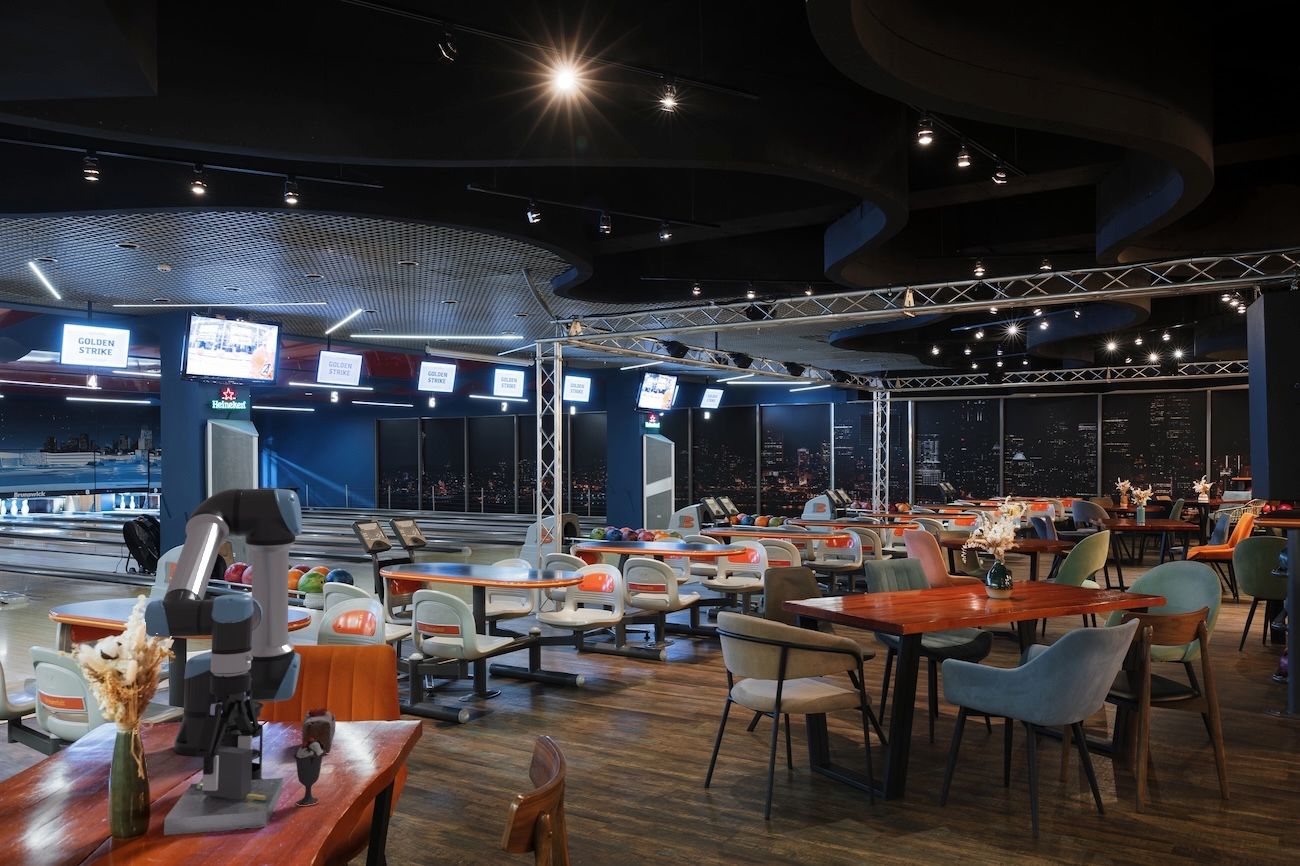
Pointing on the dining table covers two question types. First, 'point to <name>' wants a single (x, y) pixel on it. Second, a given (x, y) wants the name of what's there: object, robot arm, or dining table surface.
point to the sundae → (309, 766)
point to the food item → (319, 727)
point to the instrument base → (222, 809)
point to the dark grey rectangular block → (234, 774)
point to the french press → (255, 753)
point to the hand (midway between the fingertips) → (227, 778)
